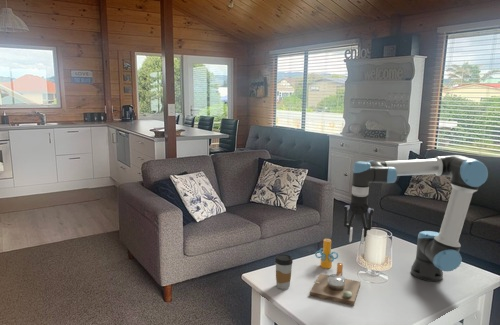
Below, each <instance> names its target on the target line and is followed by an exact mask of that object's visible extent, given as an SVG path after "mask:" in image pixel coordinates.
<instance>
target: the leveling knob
mask: <svg viewBox="0 0 500 325" xmlns="http://www.w3.org/2000/svg"><path fill="white" fill-rule="evenodd" d="M336 265H337V266H336V273H335V274H334V273H333V274H328V275H329V276H328V283H327V286H328V287H329V288H330V289H333V290H343V289H344V288H345V279H346V278H345V276H344V275H343V267H344V266H343V265H344V264H343V263H341V262H338V263H337V264H336Z"/></svg>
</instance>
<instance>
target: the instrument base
mask: <svg viewBox="0 0 500 325" xmlns="http://www.w3.org/2000/svg"><path fill="white" fill-rule="evenodd" d="M329 275H330V274H324V273H319V275H318V277H317V279H316V280H315V281H314V282H313V283H314V284H313V285H312V287H311V289H310V291H309V297H313V298H314V297H315V298H317V299H323V300H328V301H331V302H336V303H340V304H344V305H350V306H355V304H356V300H357V297H358V294H359V291H360V289H361V288H360V287H361V281H359V280H354V279H349V278H345V288H344V289H343V290H333V289H330V288H329V287H328V286H327V283H328V276H329Z"/></svg>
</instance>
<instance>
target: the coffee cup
mask: <svg viewBox="0 0 500 325" xmlns="http://www.w3.org/2000/svg"><path fill="white" fill-rule="evenodd" d="M274 262H275V280H276V283H275V284H276V287H277V288H278V289H280V290H288V289H289V288H290V285H291V277H292V270H293V269H292V267H293V257H292V256H291V255H290V254H285V253H280V254H277V255H276V257H275V260H274Z"/></svg>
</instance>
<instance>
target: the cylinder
mask: <svg viewBox="0 0 500 325" xmlns="http://www.w3.org/2000/svg"><path fill="white" fill-rule="evenodd" d="M322 246H323V247H322V248H320V249H319V250H317V251H316V252H315V253H314V254H315V255H314V256H315V257H316V259H320V265H319V266H320V268H322V269H331V268H332V266H333V262H334V261H335V260H337V259H338V258H339V254H338V252H336V251H332V239H331V238H324V239H323V244H322ZM318 253H319V254H320V256H318ZM333 254H335V255H336V257H334V255H333Z"/></svg>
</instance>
